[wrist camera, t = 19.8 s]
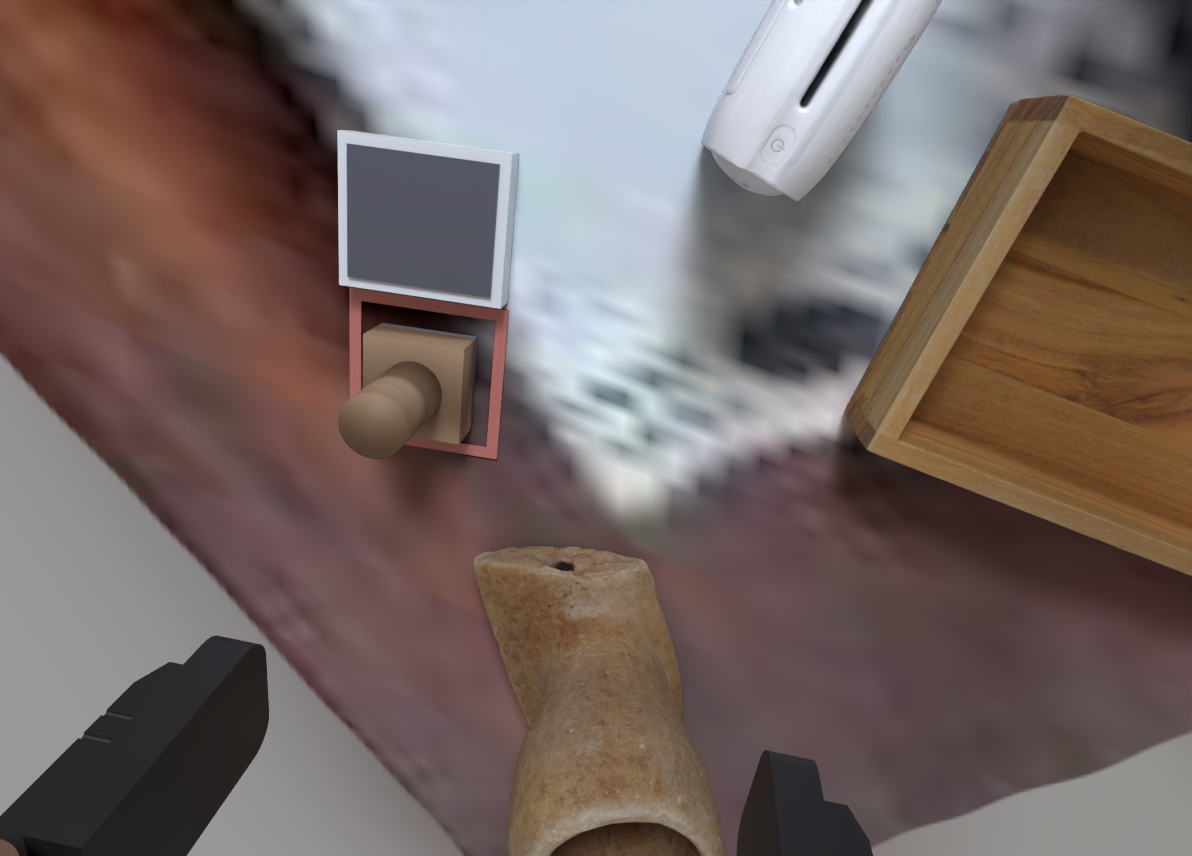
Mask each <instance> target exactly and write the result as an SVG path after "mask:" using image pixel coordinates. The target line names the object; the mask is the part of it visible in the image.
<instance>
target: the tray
mask: <svg viewBox="0 0 1192 856" xmlns="http://www.w3.org/2000/svg"><path fill="white" fill-rule="evenodd" d="M845 415H846V416H847V420H848V421H849V423H850V425H851V427H852V428H853V430H854V431H855V433H856V434H857V436H858V438H859V439H860V441H861V443H862V444H863V445H864V447H865V448H866V449H867V450H868V451H870V452H872V453H875V454H877V455H880V456H882V457H884V458H887V459H890V460H892V461H895V462H897V463H900V464H902V465H905V466H907V467H910V468H913V469H915V470H918V471H920V472H923V473H926V474H928V475H931V476H933V477H936V478H939V479H941V480H944V481H946V482H949V483H952V484H954V485H957V486H959V487H962V488H965V489H967V490H970V491H972V492H975V493H977V494H980V495H983V496H985V497H988V498H990V499H993V500H995V501H998V502H1001V503H1003V504H1006V505H1008V506H1011V507H1014V508H1016V509H1019V510H1022V511H1024V512H1027V513H1029V514H1032V515H1035V516H1037V517H1040V518H1043V519H1045V520H1048V521H1050V522H1053V523H1055V524H1058V525H1060V526H1063V527H1065V528H1068V529H1070V530H1073V531H1075V532H1078V533H1080V534H1083V535H1086V536H1088V537H1091V538H1094V539H1097V540H1100V541H1103V542H1105V543H1107V544H1110V545H1112V546H1115V547H1117V548H1120V549H1122V550H1125V551H1128V552H1130V553H1133V554H1136V555H1138V556H1141V557H1143V558H1146V559H1149V560H1151V561H1154V562H1156V563H1159V564H1162V565H1164V566H1167V567H1169V568H1172V569H1174V570H1177V571H1180V572H1182V573H1185V574H1187V575H1190V576H1192V143H1191V142H1189V141H1186V140H1184V139H1181V138H1179V137H1176V136H1174V135H1171V134H1169V133H1166V132H1164V131H1161V130H1159V129H1156V128H1154V127H1151V126H1149V125H1146V124H1144V123H1141V122H1139V121H1136V120H1134V119H1131V118H1129V117H1126V116H1124V115H1121V114H1119V113H1117V112H1114V111H1112V110H1109V109H1107V108H1104V107H1102V106H1099V105H1097V104H1094V103H1091V102H1089V101H1086V100H1083V99H1080V98H1078V97H1075V96H1072V95H1057V96H1046V97H1037V98H1028V99H1022V100H1020V101H1019V102H1014V103H1012V104H1011V105H1010V107H1009V109H1008V110H1007V112H1006V114H1005V116H1004V117H1003V119H1002V121H1001V123H1000V125H999V126H998V128H997V130H996V132H995V134H994V136H993V137H992V139H991V141H990V143H989V145H988V147H987V148H986V150H985V152H984V154H983V156H982V158H981V159H980V161H979V163H978V165H977V167H976V169H975V170H974V172H973V174H972V176H971V178H970V180H969V182H968V183H967V185H966V187H965V189H964V191H963V192H962V194H961V196H960V198H959V200H958V202H957V203H956V205H955V207H954V209H953V211H952V213H951V214H950V216H949V218H948V220H947V222H946V224H945V225H944V227H943V229H942V231H941V233H940V235H939V236H938V238H937V240H936V242H935V244H934V246H933V248H932V249H931V251H930V253H929V255H928V257H927V259H926V261H925V262H924V264H923V266H922V268H921V270H920V272H919V274H918V275H917V277H916V279H915V281H914V283H913V285H912V287H911V288H910V290H909V292H908V294H907V296H906V298H905V300H904V301H903V303H902V305H901V307H900V309H899V311H898V313H897V314H896V316H895V318H894V320H893V322H892V324H891V326H890V327H889V329H888V331H887V333H886V335H885V337H884V339H883V340H882V342H881V344H880V346H879V348H878V350H877V351H876V353H875V355H874V357H873V359H872V361H871V363H870V364H869V366H868V368H867V370H866V372H865V374H864V376H863V377H862V379H861V381H860V383H859V385H858V387H857V389H856V390H855V392H854V394H853V396H852V398H851V400H850V402H849V403H848V405H847V407H846V409H845Z"/></svg>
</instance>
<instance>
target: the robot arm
mask: <svg viewBox="0 0 1192 856" xmlns="http://www.w3.org/2000/svg"><path fill="white" fill-rule="evenodd" d="M268 721H269V703H268V684H267V664H266V652H265V649H264V647H263V646H262V645H260V644H254V643H250V642H245V641H240V640H236V639H231V638H225V637H221V636H213V637H210V638H209V639H207V640H206V641H205V642H204V643H203V644H202V645H201V646H200V647H199V648H198V650H196V652H195V653H194V654H193V655H192V656H191V657H190V658H189V659H188V660H187V661H186V662H185V663H184V664H183V665H182V664H177V663H172V662H169V663H167V664H165V665H164V666H162V667H160V668H158V669H157V670H155V671H153V672H151V673H150V674H148V675H146V676H145V677H143V678H141V679H139V680H138V681H136V682H134V683H133V684H132V685H131V686H130V687H129V688H128V689H127V690H126V691H125V692H124V693H123V694H122V695H121V696H120V697H119V698H118V699H117V700H116V701H115V702H114V703H113V704H112V705H111V706H110V707H109V708H108V709H107V712H106V714H105V715H104V716H102V715H101V716H100V717H99V718H98V719H97V720H96V721H95V722H94V723H93V724H92V725H91V726H90V727H89V728H88V729H87V730H86V731H85V732H84V735H83V737H82V738H81V739H79V738H78V739H77V740H76V741H75V742H74V743H73V744H72V745H71V746H70V747H69V748H68V749H67V750H66V751H65V752H64V753H63V754H62V755H61V756H60V757H59V758H58V759H57V760H56V761H55V762H54V763H53V764H52V765H51V766H50V767H49V768H48V769H47V770H46V771H45V772H44V773H43V774H42V775H41V776H40V777H39V778H38V779H37V780H36V781H35V782H34V783H33V784H32V785H31V786H30V787H29V788H28V789H27V790H26V791H25V792H24V793H23V794H22V795H21V796H20V797H19V798H18V799H17V800H16V801H15V802H14V803H13V804H12V805H11V806H10V807H9V808H8V809H7V810H6V811H5V812H4V813H3V814H2V815H1V816H0V856H187V854H188V853H189V851H190V850H191V848H192V847H193V846H194V844H195V843H196V841H197V840H198V838H199V837H200V835H201V834H202V833H203V831H204V830H205V828H206V827H207V825H208V824H209V822H210V821H211V820H212V818H213V817H214V815H215V814H216V812H217V811H218V809H219V808H220V806H221V805H222V804H223V802H224V801H225V799H226V798H227V796H228V795H229V793H230V792H231V791H232V789H233V788H234V786H235V785H236V783H237V782H238V781H239V779H240V778H241V776H242V775H243V773H244V772H245V770H246V769H247V768H248V766H249V765H250V763H251V762H252V760H253V759H254V757H255V756H256V754H257V752H258V750H259V749H260V746H261V744H262V742H263V739H264V737H265V734H266V730H267V726H268ZM737 856H873V854H872V850H871V846H870V842H869V839H868V838H867V836H866V834H865V833H864V831H863V830H862V828H861V826H860V825H859V823H858V822H857V820H856V818H855V817H854V815H853V814H852V812H851V811H850V809H849V807H848V806H847V805H843V804H838V803H833V802H828V801H824V798H823V793H822V788H821V782H820V777H819V772H818V768H817V765H816V763H815V761H813V760H810V759H805V758H800V757H795V756H790V755H786V754H781V753H776V752H771V751H766V750H765V751H764V752H763V753H762V755H761V758H760V761H759V764H758V767H757V770H756V773H755V776H754V779H753V783H752V786H751V789H750V792H749V795H748V798H747V801H746V804H745V807H744V810H743V814H742V817H741V821H740V826H739V832H738V841H737Z"/></svg>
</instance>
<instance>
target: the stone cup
mask: <svg viewBox="0 0 1192 856" xmlns="http://www.w3.org/2000/svg"><path fill="white" fill-rule="evenodd" d="M474 570H475V574H476V577H477V581H478V585H479V588H480V592H481V595H482V598H483V602H484V605H485V609H486V612H487V615H488V618H489V620H490V623H491V626H492V629H493V632H494V635H495V638H496V640H497V642H498V644H499V647H500V653H501V656H502V658H503V661H504V664H505V667H506V670H507V673H508V676H509V679H510V682H511V685H512V687H513V690H514V693H515V695H516V697H517V699H518V702H519V704H520V707H521V709H522V712H523V715H524V716H525V718H526V720H527V722H528V724H529V727H530V728H529V731H528V733H527V735H526V737H525V739H524V741H523V744H522V746H521V749H520V752H519V756H518V759H517V763H516V767H515V772H514V777H513V783H512V790H511V797H510V813H509V819H508V828H507V855H508V856H726V853H725V847H724V842H723V836H722V831H721V826H720V821H719V816H718V811H717V806H716V800H715V796H714V793H713V789H712V786H711V782H710V778H709V775H708V773H707V770H706V768H705V766H704V764H703V762H702V760H701V757H700V756H699V754H698V752H697V750H696V748H695V746H694V744H693V742H692V740H691V739H690V737H689V735H688V733H687V731H686V729H685V727H684V725H683V723H682V721H681V720H682V702H683V698H682V682H681V677H680V672H679V667H678V662H677V658H676V654H675V651H674V647H673V644H672V641H671V637H670V634H669V630H668V627H667V624H666V621H665V618H664V614H663V611H662V608H661V605H660V602H659V598H658V595H657V592H656V587H655V583H654V580H653V577H652V574H651V572H650V569H649V567H648V565H647V563H646V562H644V561H643V560H641V559H638V558H629V557H625V556H622V555H618V554H615V553H612V552H609V551H598V550H594V549H581V548H579V547H565V548H558V547H553V546H528V547H523V548H517V547H510V548H506V549H502V550H497V551H491V552H485V553H482V554H480V555H478V556H477V557H476V558H475V561H474Z"/></svg>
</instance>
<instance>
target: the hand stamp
mask: <svg viewBox="0 0 1192 856" xmlns="http://www.w3.org/2000/svg"><path fill="white" fill-rule="evenodd" d="M476 354H477V337H475V336H469V335H462V334H455V333H448V332H442V331H435V330H428V329H422V328H415V327H408V326H401V325H395V324H388V323H381V324H379V325H378V326H376V327H374V328H373V329H371V330H369V331H368V332H366V333H364V334H363V389H362V390H361V391H360V392H358V393H357V394H356V395H354V396H353V397H352V398H350V399H349V400H348V401H347V402H346V403H345V404H344V405H343V407H342V408H341V411H340V413H339V419H338V423H339V430H340V433H341V435H342V437H343V439H344V441H345V442H346V443H347V445H348V446H349V447H350V448H351V449H352V450H354V451H355V452H356V453H358V454H360V455H362V456H364V457H367V458H371V459H383V458H387V457H390V456H392V455H394V454H395V453H396V452H398V451H399V450H400V448H401V447H402V446H403V445H404V444H405V443H406V442H407V441H408V440H409V439H410V438H411V437H415V438H421V439H428V440H434V441H440V442H447V443H453V444H460V442H461V441H462V440H463V438H464V437H465V436H466V434H467V433H468V432H469V430H470V429H471V428H472V419H473V403H474V387H475V370H476Z"/></svg>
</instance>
